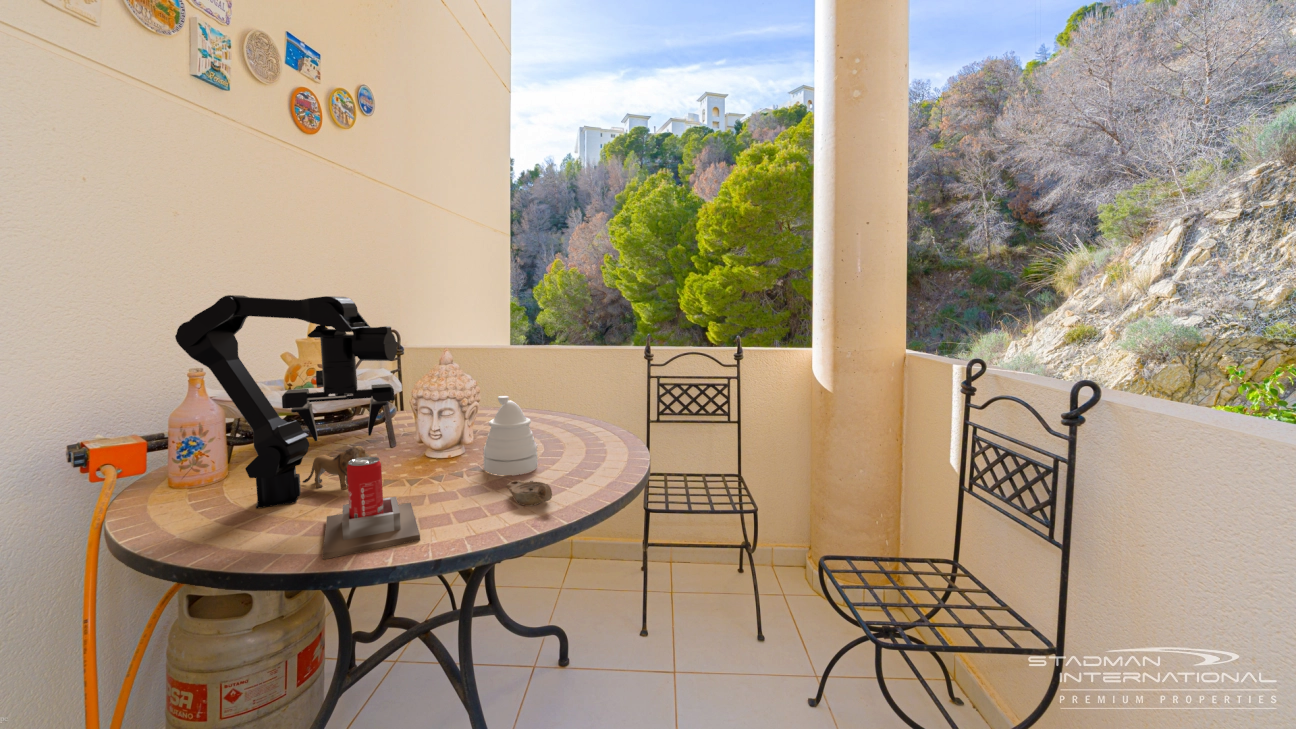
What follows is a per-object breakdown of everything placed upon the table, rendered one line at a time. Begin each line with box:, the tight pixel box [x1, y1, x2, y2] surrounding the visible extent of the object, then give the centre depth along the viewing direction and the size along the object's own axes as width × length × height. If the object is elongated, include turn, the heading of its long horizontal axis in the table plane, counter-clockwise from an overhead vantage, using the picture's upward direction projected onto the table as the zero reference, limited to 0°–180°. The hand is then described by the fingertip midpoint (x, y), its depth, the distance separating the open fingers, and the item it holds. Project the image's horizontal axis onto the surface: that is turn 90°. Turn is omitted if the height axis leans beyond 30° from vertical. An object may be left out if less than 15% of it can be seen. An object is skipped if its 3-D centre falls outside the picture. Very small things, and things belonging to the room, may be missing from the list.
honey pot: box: [483, 395, 539, 476], centre depth 125 cm, size 13×13×18 cm
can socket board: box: [322, 496, 421, 560], centre depth 90 cm, size 14×16×4 cm
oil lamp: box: [506, 480, 553, 507], centre depth 104 cm, size 13×8×5 cm, turn 45°
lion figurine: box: [302, 445, 370, 491], centre depth 112 cm, size 15×5×9 cm, turn 88°
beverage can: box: [347, 456, 384, 519], centre depth 89 cm, size 5×5×12 cm
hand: (343, 437), depth 102 cm, fingers open, 9 cm apart
